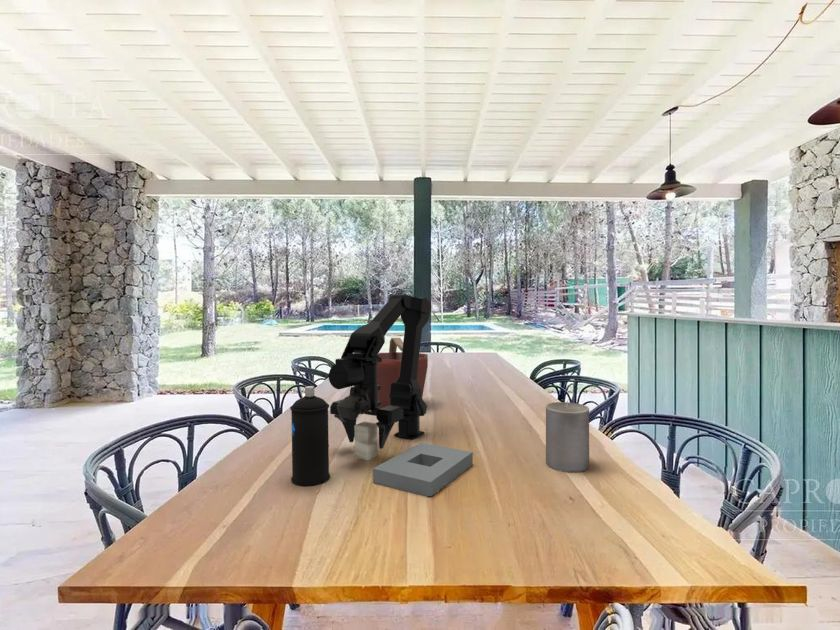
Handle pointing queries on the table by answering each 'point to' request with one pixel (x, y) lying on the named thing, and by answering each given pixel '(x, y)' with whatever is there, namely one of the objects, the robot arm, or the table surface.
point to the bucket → (396, 371)
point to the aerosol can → (310, 440)
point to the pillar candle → (567, 436)
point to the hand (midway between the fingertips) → (366, 445)
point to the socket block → (423, 468)
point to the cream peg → (366, 440)
